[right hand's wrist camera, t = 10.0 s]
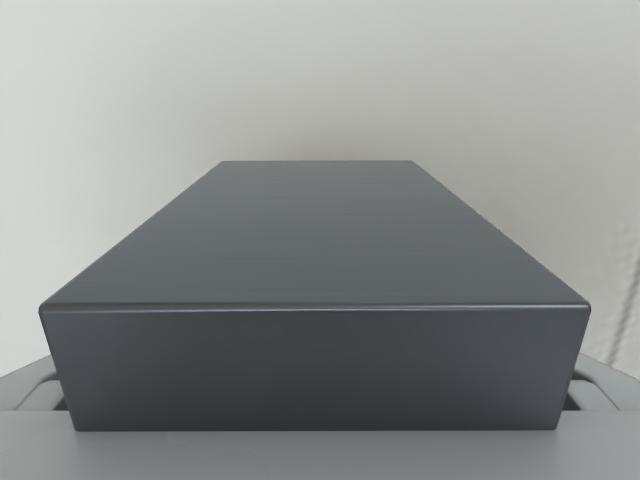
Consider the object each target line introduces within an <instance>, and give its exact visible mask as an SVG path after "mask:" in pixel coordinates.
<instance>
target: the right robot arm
mask: <svg viewBox="0 0 640 480" xmlns="http://www.w3.org/2000/svg"><path fill="white" fill-rule="evenodd" d="M0 480H640V381H639V380H638V379H636V378H634V377H631V376H629V375H627V374H625V373H623V372H621V371H619V370H616V369H614V368H612V367H610V366H608V365H606V364H603V363H601V362H599V361H597V360H595V359H593V358H591V357H588V356H586V355H584V354H582V353H580V352H579V354H578V357H577V361H576V364H575V368H574V371H573V375H572V378H571V381H570V385H569V388H568V392H567V395H566V399H565V402H564V405H563V409H562V412H561V416H560V419H559V422H558V426H557V429H555V430H524V431H164V432H78V431H75V430H74V426H73V423H72V420H71V417H70V414H69V410H68V407H67V404H66V401H65V397H64V394H63V391H62V388H61V384H60V381H59V378H58V375H57V371H56V368H55V365H54V362H53V358H52V355H49V356H46V357H44V358H42V359H40V360H38V361H36V362H33V363H31V364H29V365H27V366H25V367H22V368H20V369H18V370H16V371H14V372H12V373H9V374H7V375H5V376H3V377H1V378H0Z"/></svg>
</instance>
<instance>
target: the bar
mask: <svg viewBox="0 0 640 480" xmlns="http://www.w3.org/2000/svg"><path fill="white" fill-rule="evenodd" d="M38 313H39V316H40V319H41V323H42V326H43V329H44V332H45V336H46V339H47V342H48V345H49V349H50V352H51V355H52V358H53V362H54V365H55V368H56V371H57V375H58V378H59V381H60V384H61V388H62V391H63V394H64V397H65V401H66V404H67V407H68V410H69V414H70V417H71V420H72V423H73V426H74V430H75V431H78V432H164V431H524V430H555V429H557V426H558V422H559V419H560V416H561V412H562V409H563V405H564V402H565V399H566V395H567V392H568V388H569V385H570V381H571V378H572V375H573V371H574V368H575V364H576V361H577V357H578V354H579V351H580V347H581V344H582V340H583V337H584V333H585V330H586V327H587V323H588V320H589V316H590V313H591V306H590V304H589V302H588V301H587V300H585V299H584V298H583V297H582V296H580V295H579V294H578V293H577V292H575V291H574V290H573V289H572V288H570V287H569V286H568V285H567V284H565V283H564V282H563V281H562V280H560V279H559V278H558V277H557V276H555V275H554V274H553V273H552V272H550V271H549V270H548V269H547V268H545V267H544V266H543V265H542V264H541V263H539V262H538V261H537V260H536V259H534V258H533V257H532V256H531V255H529V254H528V253H527V252H526V251H524V250H523V249H522V248H521V247H519V246H518V245H517V244H516V243H514V242H513V241H512V240H511V239H509V238H508V237H507V236H506V235H504V234H503V233H502V232H501V231H499V230H498V229H497V228H496V227H494V226H493V225H492V224H491V223H489V222H488V221H487V220H486V219H484V218H483V217H482V216H481V215H479V214H478V213H477V212H476V211H474V210H473V209H472V208H471V207H469V206H468V205H467V204H466V203H464V202H463V201H462V200H461V199H460V198H458V197H457V196H456V195H455V194H453V193H452V192H451V191H450V190H448V189H447V188H446V187H445V186H443V185H442V184H441V183H440V182H438V181H437V180H436V179H435V178H433V177H432V176H431V175H430V174H428V173H427V172H426V171H425V170H423V169H422V168H421V167H420V166H418V165H417V164H416V163H415V162H413V161H222V162H220V163H219V164H218V165H217V166H215V167H214V168H213V169H211V170H210V171H209V172H208V173H206V174H205V175H204V176H203V177H201V178H200V179H199V180H198V181H196V182H195V183H194V184H192V185H191V186H190V187H189V188H187V189H186V190H185V191H184V192H182V193H181V194H180V195H179V196H177V197H176V198H175V199H173V200H172V201H171V202H170V203H168V204H167V205H166V206H165V207H163V208H162V209H161V210H160V211H158V212H157V213H156V214H154V215H153V216H152V217H151V218H149V219H148V220H147V221H146V222H144V223H143V224H142V225H141V226H139V227H138V228H137V229H135V230H134V231H133V232H132V233H130V234H129V235H128V236H127V237H125V238H124V239H123V240H122V241H120V242H119V243H118V244H116V245H115V246H114V247H113V248H111V249H110V250H109V251H108V252H106V253H105V254H104V255H103V256H101V257H100V258H99V259H97V260H96V261H95V262H94V263H92V264H91V265H90V266H89V267H87V268H86V269H85V270H84V271H82V272H81V273H80V274H78V275H77V276H76V277H75V278H73V279H72V280H71V281H70V282H68V283H67V284H66V285H65V286H63V287H62V288H61V289H59V290H58V291H57V292H56V293H54V294H53V295H52V296H51V297H49V298H48V299H47V300H46V301H44V302H43V303H42V304H41V305H40V307H39V312H38Z"/></svg>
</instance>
